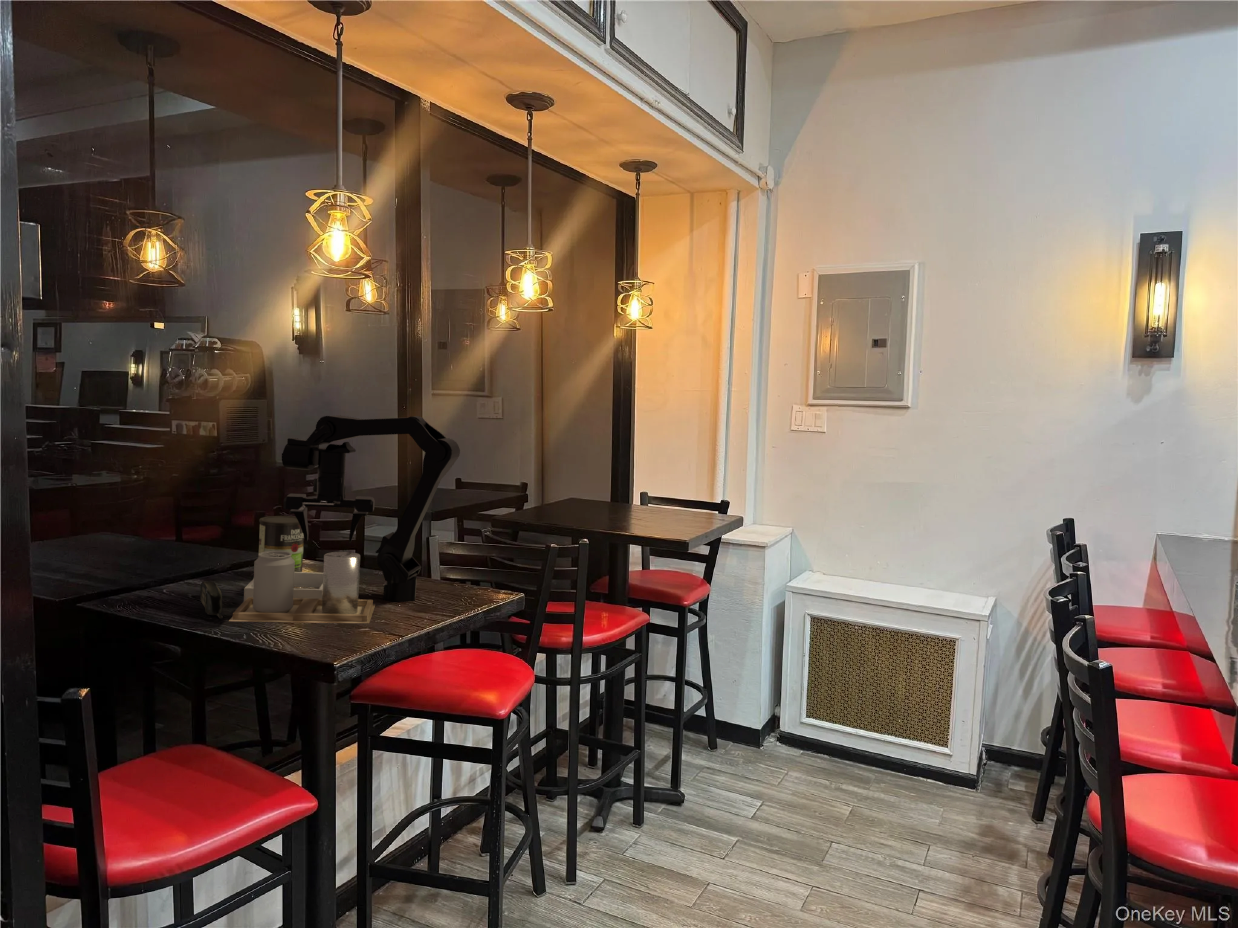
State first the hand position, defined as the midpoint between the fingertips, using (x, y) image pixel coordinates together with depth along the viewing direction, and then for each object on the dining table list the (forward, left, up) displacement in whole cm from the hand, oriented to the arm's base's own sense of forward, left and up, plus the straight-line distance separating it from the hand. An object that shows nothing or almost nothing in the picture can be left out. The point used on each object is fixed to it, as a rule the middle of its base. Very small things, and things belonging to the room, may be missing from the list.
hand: (328, 541), depth 181 cm
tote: (+8, +1, -13) cm, 15 cm away
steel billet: (-5, +17, -11) cm, 21 cm away
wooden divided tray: (+2, +17, -13) cm, 21 cm away
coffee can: (+14, -19, -13) cm, 27 cm away
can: (+8, +17, -12) cm, 22 cm away
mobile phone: (+21, +11, -13) cm, 27 cm away
